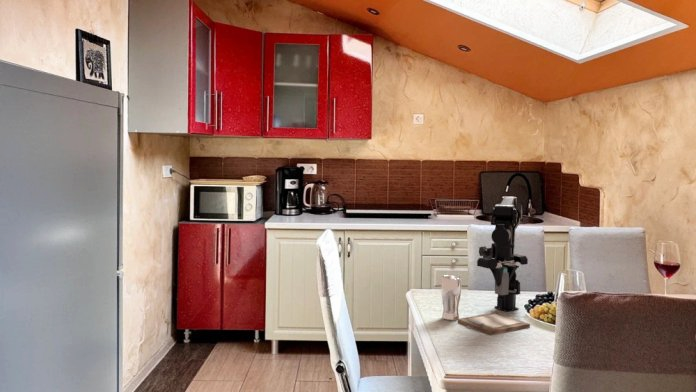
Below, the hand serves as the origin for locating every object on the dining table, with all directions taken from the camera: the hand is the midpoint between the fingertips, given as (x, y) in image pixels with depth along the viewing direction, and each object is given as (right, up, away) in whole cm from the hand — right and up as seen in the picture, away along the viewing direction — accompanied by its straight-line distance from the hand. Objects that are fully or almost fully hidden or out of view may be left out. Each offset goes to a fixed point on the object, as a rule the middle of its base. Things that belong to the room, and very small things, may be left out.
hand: (501, 285), depth 199 cm
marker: (0, -3, 0) cm, 3 cm away
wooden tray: (-3, -13, -1) cm, 14 cm away
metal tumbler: (-17, -13, +6) cm, 22 cm away
